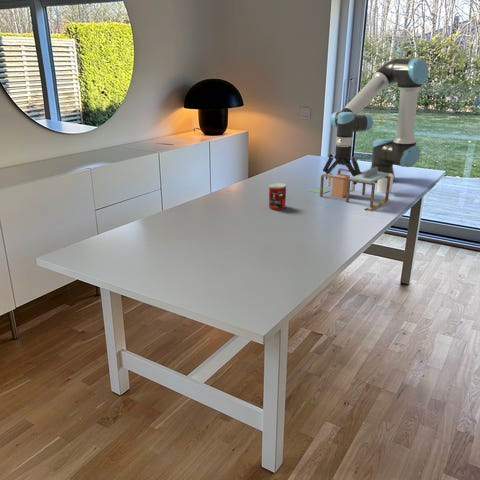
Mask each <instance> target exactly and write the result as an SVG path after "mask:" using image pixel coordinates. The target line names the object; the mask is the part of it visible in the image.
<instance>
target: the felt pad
mask: <svg viewBox="0 0 480 480" xmlns="http://www.w3.org/2000/svg"><path fill="white" fill-rule="evenodd" d="M308 192H311V193H315V194H319V195H320V187H316V188H313V189H310V190H308ZM328 192H332V189H331V190H330V189H326V188H323V195H324V194H326V193H328Z"/></svg>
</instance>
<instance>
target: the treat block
mask: <svg viewBox="0 0 480 480" xmlns="http://www.w3.org/2000/svg"><path fill="white" fill-rule="evenodd" d="M333 176H337V177H342V178H348V179H351V175H349V174H343V173H340V174H338V173H337V174H335V175H333ZM331 187H332V188H331V195H332V196H331V197H333V196H337V197H336V198H338V197H342V198H341V199H344V198H343V197H345V196H346V193H347V181H346V180H341V179H335V178H332V186H331Z"/></svg>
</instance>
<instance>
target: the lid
mask: <svg viewBox="0 0 480 480" xmlns="http://www.w3.org/2000/svg"><path fill="white" fill-rule="evenodd" d="M370 168H371V167H370ZM370 168H369V169H366V170H363V171H362V172H363V173H362V174H359V175H356V176H354V177H353V176H352V177H351V176H350V179H351V180H355V181H360V182H366V183H376V182H375V181H377V180H379V179H382V178H384V177H386V176H389V173H384V172H378V167H374V168H371V169H370Z"/></svg>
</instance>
